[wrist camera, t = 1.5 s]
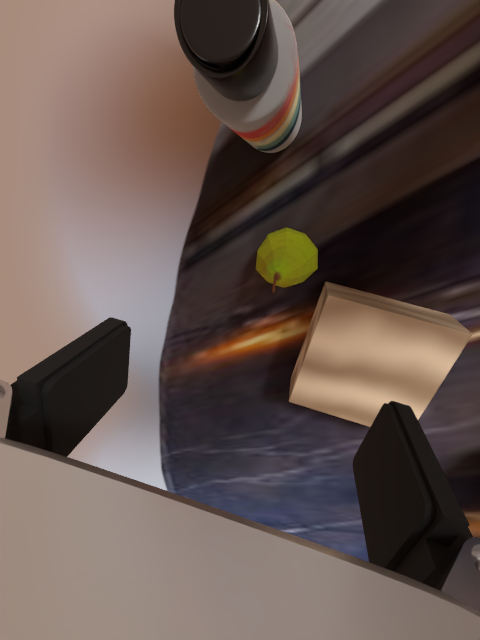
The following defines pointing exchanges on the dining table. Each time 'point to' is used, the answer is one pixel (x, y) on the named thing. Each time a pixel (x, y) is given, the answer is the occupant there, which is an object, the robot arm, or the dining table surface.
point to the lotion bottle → (244, 66)
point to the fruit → (286, 258)
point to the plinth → (373, 354)
